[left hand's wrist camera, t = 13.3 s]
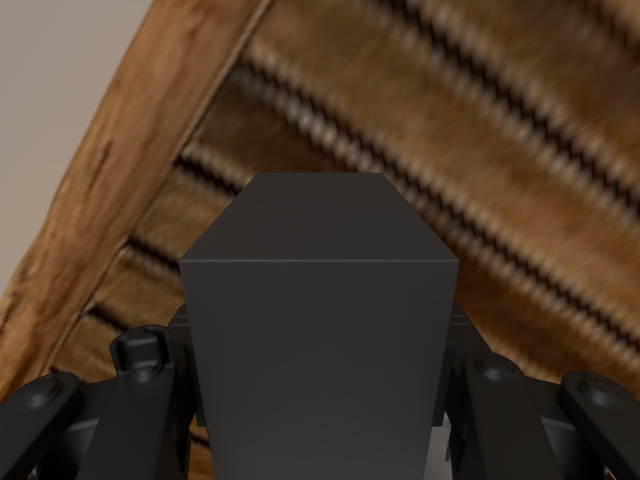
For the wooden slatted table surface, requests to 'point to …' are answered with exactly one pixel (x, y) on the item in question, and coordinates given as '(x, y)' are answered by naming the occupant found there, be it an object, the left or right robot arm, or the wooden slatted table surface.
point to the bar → (319, 329)
